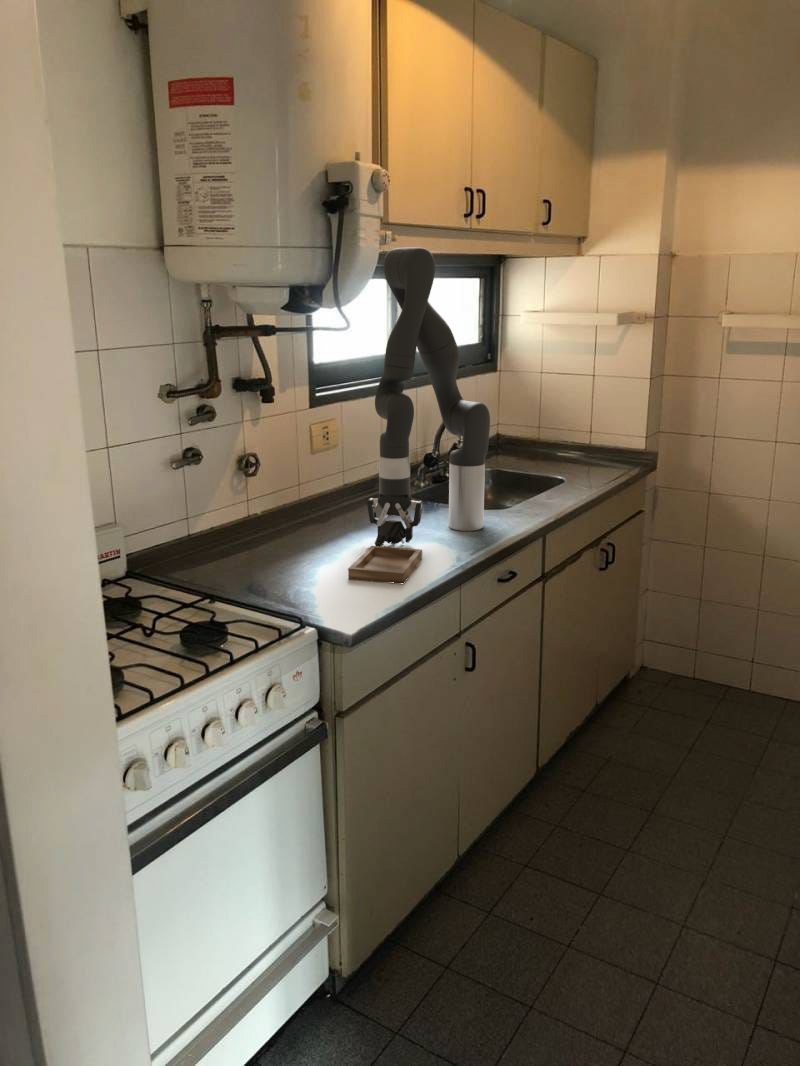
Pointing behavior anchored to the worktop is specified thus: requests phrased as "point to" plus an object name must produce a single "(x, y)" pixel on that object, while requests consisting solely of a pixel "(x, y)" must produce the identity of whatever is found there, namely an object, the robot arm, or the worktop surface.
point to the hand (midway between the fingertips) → (395, 540)
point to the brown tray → (385, 564)
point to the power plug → (391, 533)
